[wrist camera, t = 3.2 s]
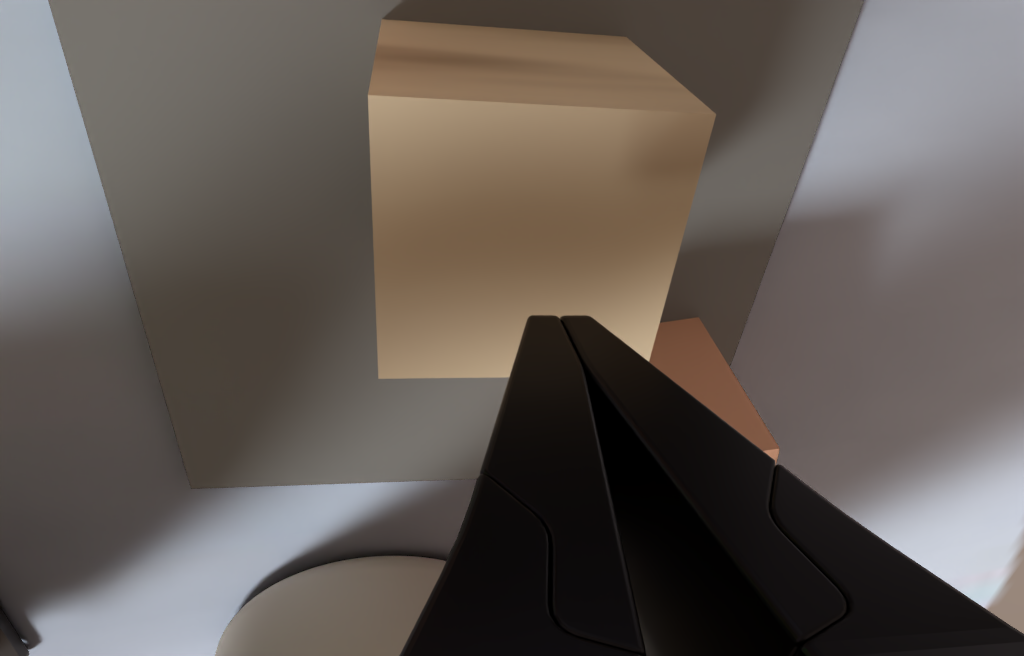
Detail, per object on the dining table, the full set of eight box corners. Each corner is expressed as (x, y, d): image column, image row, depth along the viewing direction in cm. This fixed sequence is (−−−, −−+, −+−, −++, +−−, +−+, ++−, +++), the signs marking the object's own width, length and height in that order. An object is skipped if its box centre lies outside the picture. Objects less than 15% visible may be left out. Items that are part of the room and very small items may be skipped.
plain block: (588, 248, 16) (644, 376, 12) (387, 244, 16) (378, 378, 12) (626, 36, 14) (715, 114, 10) (381, 19, 13) (368, 95, 9)
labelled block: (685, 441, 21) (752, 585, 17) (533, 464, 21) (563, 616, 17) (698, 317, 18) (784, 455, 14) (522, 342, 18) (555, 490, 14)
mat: (687, 462, 22) (691, 471, 22) (194, 478, 20) (191, 488, 20) (1050, -555, 10) (1072, -570, 9) (-184, -854, 7) (-212, -886, 7)
